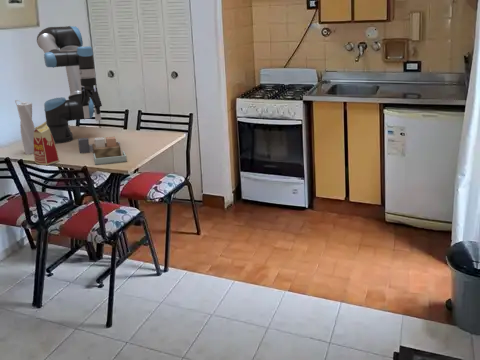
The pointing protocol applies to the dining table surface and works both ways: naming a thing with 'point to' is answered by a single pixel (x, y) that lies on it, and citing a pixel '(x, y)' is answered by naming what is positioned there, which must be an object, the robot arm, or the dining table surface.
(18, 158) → the dining table surface
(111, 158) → the tray
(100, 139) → the tile white
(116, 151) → the board
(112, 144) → the tile terracotta
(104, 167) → the dining table surface
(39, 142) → the milk carton
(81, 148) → the scraper
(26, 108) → the skyscraper
